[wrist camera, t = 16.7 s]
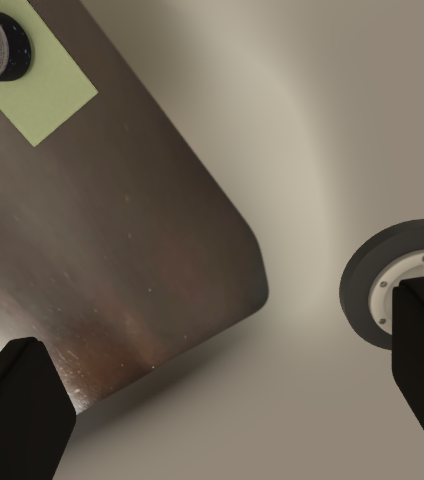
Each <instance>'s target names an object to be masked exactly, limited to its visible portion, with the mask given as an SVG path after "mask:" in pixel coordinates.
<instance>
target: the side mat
mask: <svg viewBox="0 0 424 480" xmlns="http://www.w3.org/2000/svg"><path fill="white" fill-rule="evenodd" d="M0 12H2V13H5V14H7V15H9V16H10V17H12V18H13V19H14V20H16V21H17V22H18V23H19V24H20V26H21V27H22V28H23V29H24V31H25V33H26V35H27V37H28V39H29V42H30V46H31V63H30V66H29V68H28V70H27V72H26V73H25V74H24V75H23V76H22V77H21V78H19V79H17V80H14V81H9V82H0V110H1V111H2V112H3V113H4V114H5V115H6V116H7V117H8V119H9V120H10V121H11V122H12V123H13V124H14V125H15V126H16V127H17V129H18V130H19V131H20V132H21V133H22V134H23V135H24V136H25V138H26V139H27V140H28V141H29V142H30V143H31V144H32V145H33V147H36V146H37V145H38V144H39V143H40V142H41V141H43V140H44V139H45V138H46V137H47V136H48V135H50V134H51V133H52V132H53V131H54V130H55V129H57V128H58V127H59V126H60V125H61V124H62V123H64V122H65V121H66V120H67V119H68V118H69V117H71V116H72V115H73V114H74V113H75V112H76V111H78V110H79V109H80V108H81V107H82V106H83V105H85V104H86V103H87V102H88V101H89V100H91V99H92V98H93V97H94V96H95V95H96V94H98V93H99V92H98V91H97V89H96V88H95V87H94V85H93V84H92V83H91V82H90V80H89V79H88V78H87V76H86V75H85V74H84V73H83V71H82V70H81V69H80V67H79V66H78V65H77V64H76V62H75V61H74V60H73V58H72V57H71V56H70V55H69V53H68V52H67V51H66V49H65V48H64V47H63V46H62V44H61V43H60V42H59V40H58V39H57V38H56V37H55V35H54V34H53V33H52V31H51V30H50V29H49V28H48V26H47V25H46V24H45V22H44V21H43V20H42V19H41V17H40V16H39V15H38V14H37V12H36V11H35V10H34V8H33V7H32V6H31V5H30V3H29V2H28V1H27V0H0Z"/></svg>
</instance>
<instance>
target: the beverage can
mask: <svg viewBox="0 0 424 480" xmlns="http://www.w3.org/2000/svg"><path fill="white" fill-rule="evenodd" d="M30 63H31V46H30V42H29V39H28V37H27V35H26V33H25V31H24V29H23V28H22V27H21V26H20V24H19V23H18V22H17V21H16V20H14V19H13V18H12V17H10V16H9V15H7V14H5V13H2V12H0V82H9V81H14V80H17V79H19V78H21V77H22V76H23V75H24V74H25V73H26V72H27V70H28V68H29V66H30Z"/></svg>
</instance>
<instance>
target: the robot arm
mask: <svg viewBox="0 0 424 480" xmlns="http://www.w3.org/2000/svg"><path fill="white" fill-rule="evenodd" d="M368 306H369V310H370V313H371V315H372V317H373V319H374V320H375V322H376V323H377V325H378V326H379V327H380V328H381V329H383V330H384V331H385V332H387V333H389V334H391V335H392V373H393V377H394V380H395V382H396V384H397V386H398V387H399V389H400V391H401V392H402V394H403V396H404V397H405V399H406V401H407V402H408V404H409V406H410V408H411V409H412V411H413V413H414V414H415V416H416V418H417V419H418V421H419V423H420V425H421V426H422V428H423V430H424V249H423V250H417V251H413V252H410V253H407V254H404V255H402V256H401V257H399V258H397V259H395V260H393V261H392V262H391V263H389V264H388V265H387V266H386V267H385V268H384V269H383V270H382V271H381V272H380V273H379V274H378V275H377V277H376V278H375V280H374V281H373V283H372V286H371V288H370V291H369V296H368ZM75 423H76V411H75V408H74V406H73V404H72V402H71V400H70V398H69V396H68V394H67V391H66V389H65V387H64V385H63V383H62V381H61V379H60V377H59V375H58V372H57V370H56V368H55V366H54V364H53V362H52V360H51V358H50V356H49V354H48V351H47V349H46V347H45V345H44V344H43V342H41V341H38V340H37V339H36V338H35V337H26V338H20V339H13V340H10V341H9V342H8V343H7V344H6V346H5V347H4V348H3V349H2V351H1V352H0V480H52V479H53V476H54V474H55V471H56V469H57V467H58V464H59V462H60V460H61V457H62V455H63V452H64V450H65V447H66V445H67V442H68V440H69V438H70V436H71V433H72V431H73V428H74V426H75Z"/></svg>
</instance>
